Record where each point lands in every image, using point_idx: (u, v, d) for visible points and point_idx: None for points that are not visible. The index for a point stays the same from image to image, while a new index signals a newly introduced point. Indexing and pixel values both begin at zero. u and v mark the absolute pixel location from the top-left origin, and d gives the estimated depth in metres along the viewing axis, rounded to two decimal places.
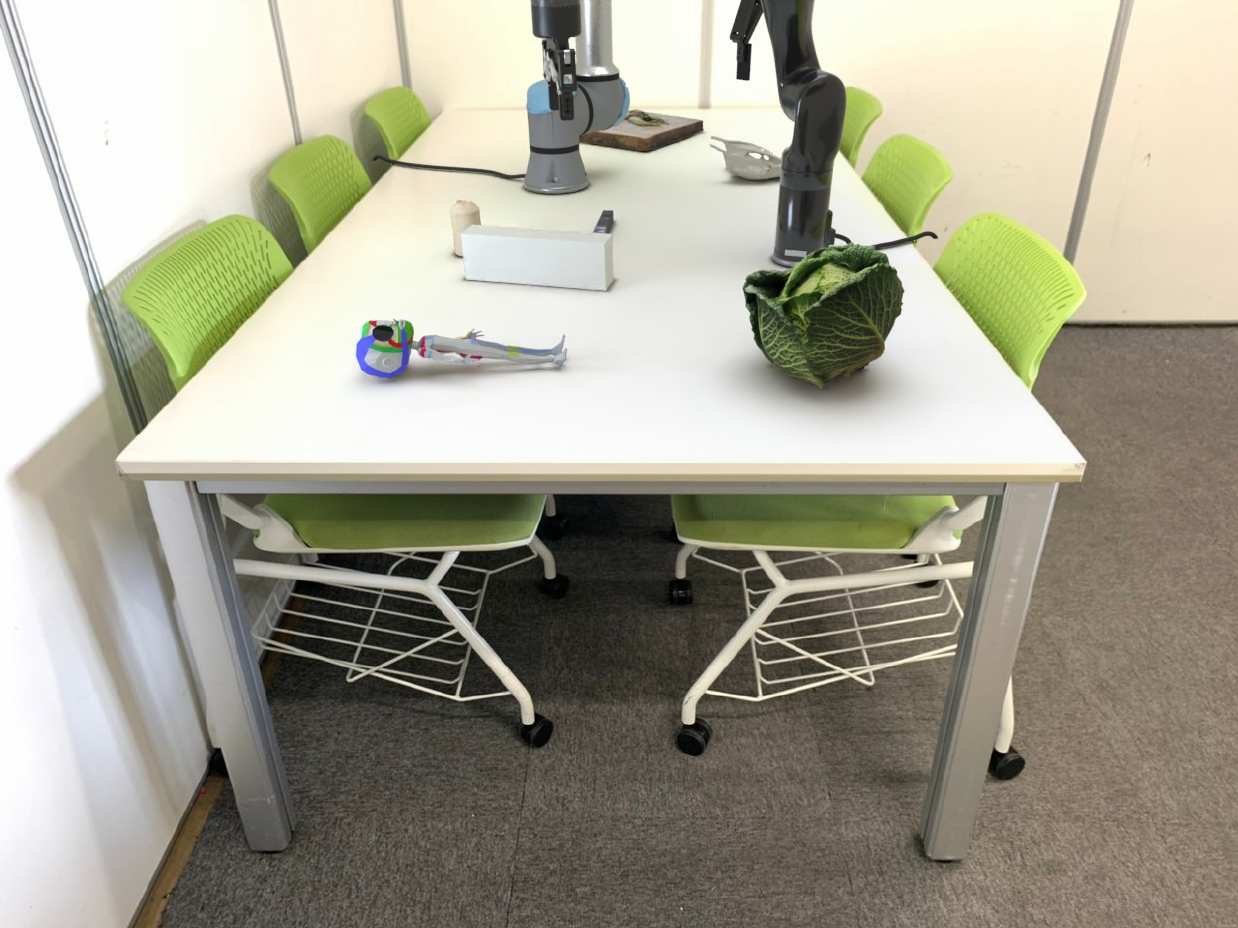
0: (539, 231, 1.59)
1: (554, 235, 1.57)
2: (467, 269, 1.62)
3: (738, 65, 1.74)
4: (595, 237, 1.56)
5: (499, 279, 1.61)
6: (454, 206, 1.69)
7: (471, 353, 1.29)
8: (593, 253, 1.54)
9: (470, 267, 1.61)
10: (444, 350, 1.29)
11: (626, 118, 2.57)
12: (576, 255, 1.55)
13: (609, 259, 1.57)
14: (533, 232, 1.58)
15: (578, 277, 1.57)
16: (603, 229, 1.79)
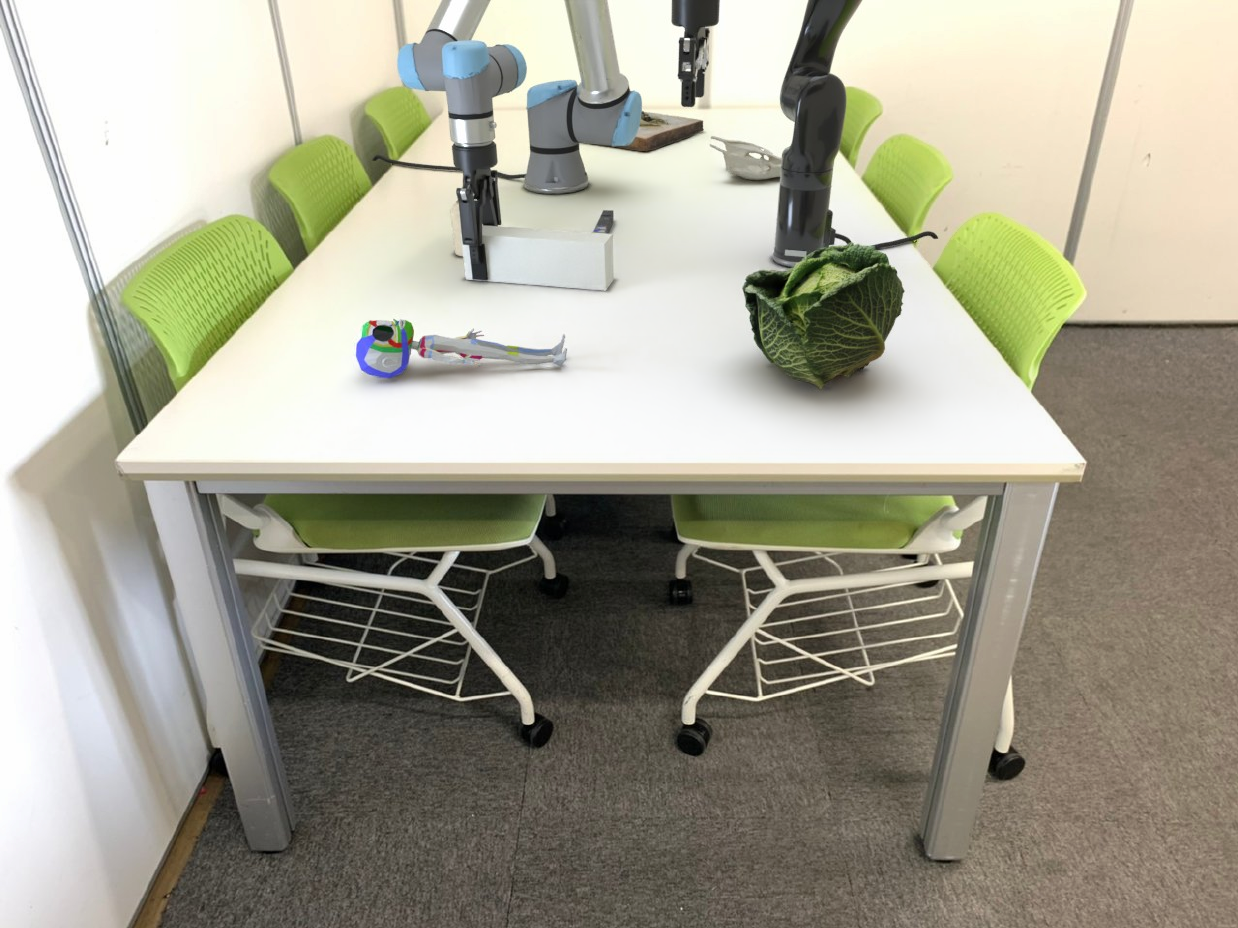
0: (539, 231, 1.59)
1: (554, 235, 1.57)
2: (467, 269, 1.62)
3: (473, 265, 1.60)
4: (595, 237, 1.56)
5: (499, 279, 1.61)
6: (454, 206, 1.69)
7: (471, 353, 1.29)
8: (593, 253, 1.54)
9: (470, 267, 1.61)
10: (444, 350, 1.29)
11: None
12: (576, 255, 1.55)
13: (609, 259, 1.57)
14: (533, 232, 1.58)
15: (578, 277, 1.57)
16: (603, 229, 1.79)
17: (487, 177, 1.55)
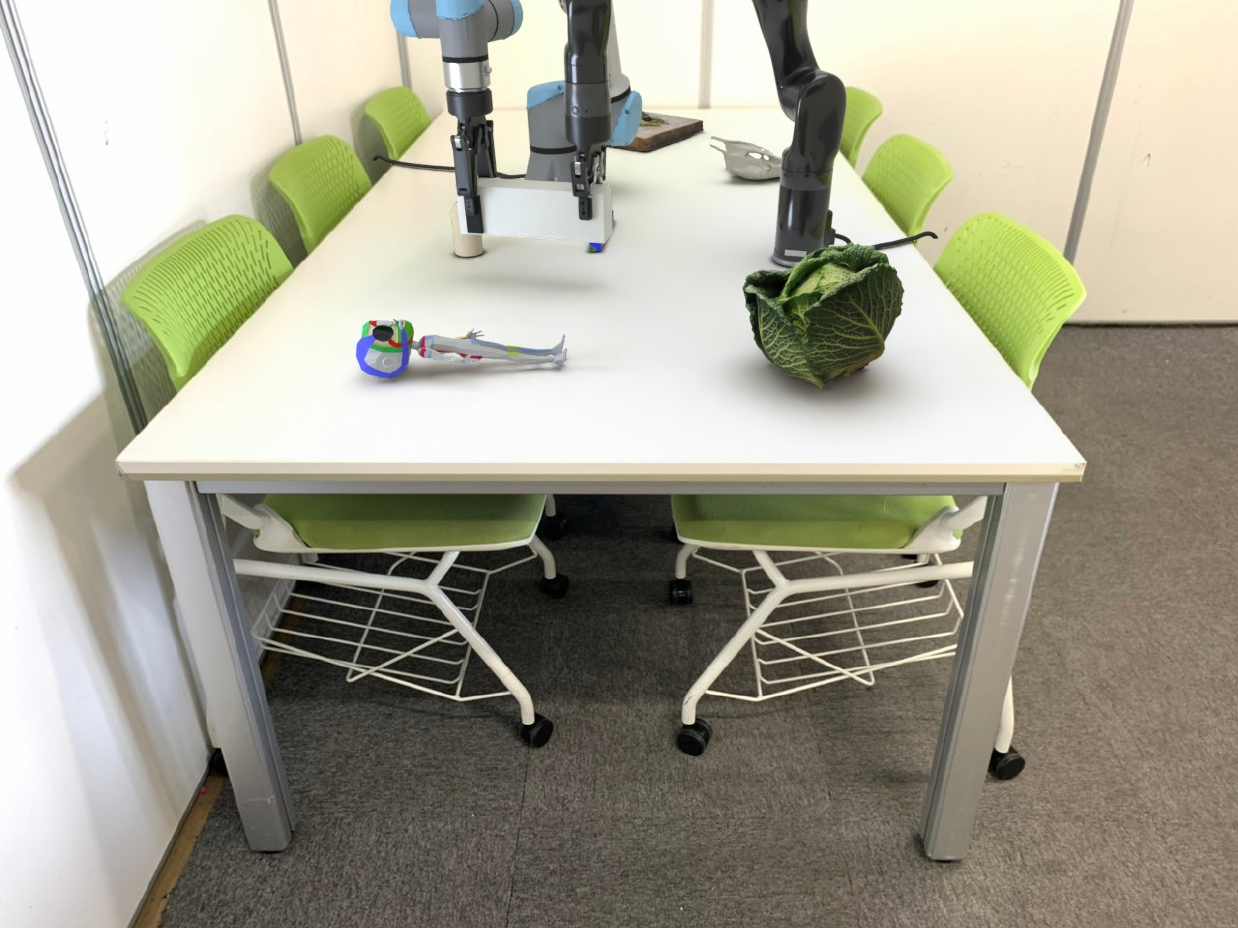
0: (536, 182, 1.54)
1: (552, 186, 1.52)
2: (462, 222, 1.57)
3: (468, 218, 1.56)
4: (593, 188, 1.51)
5: (495, 232, 1.57)
6: (454, 206, 1.69)
7: (471, 353, 1.29)
8: None
9: (465, 220, 1.57)
10: (444, 350, 1.29)
11: None
12: (574, 206, 1.51)
13: (608, 211, 1.53)
14: (529, 183, 1.54)
15: (576, 229, 1.53)
16: None
17: (482, 126, 1.51)
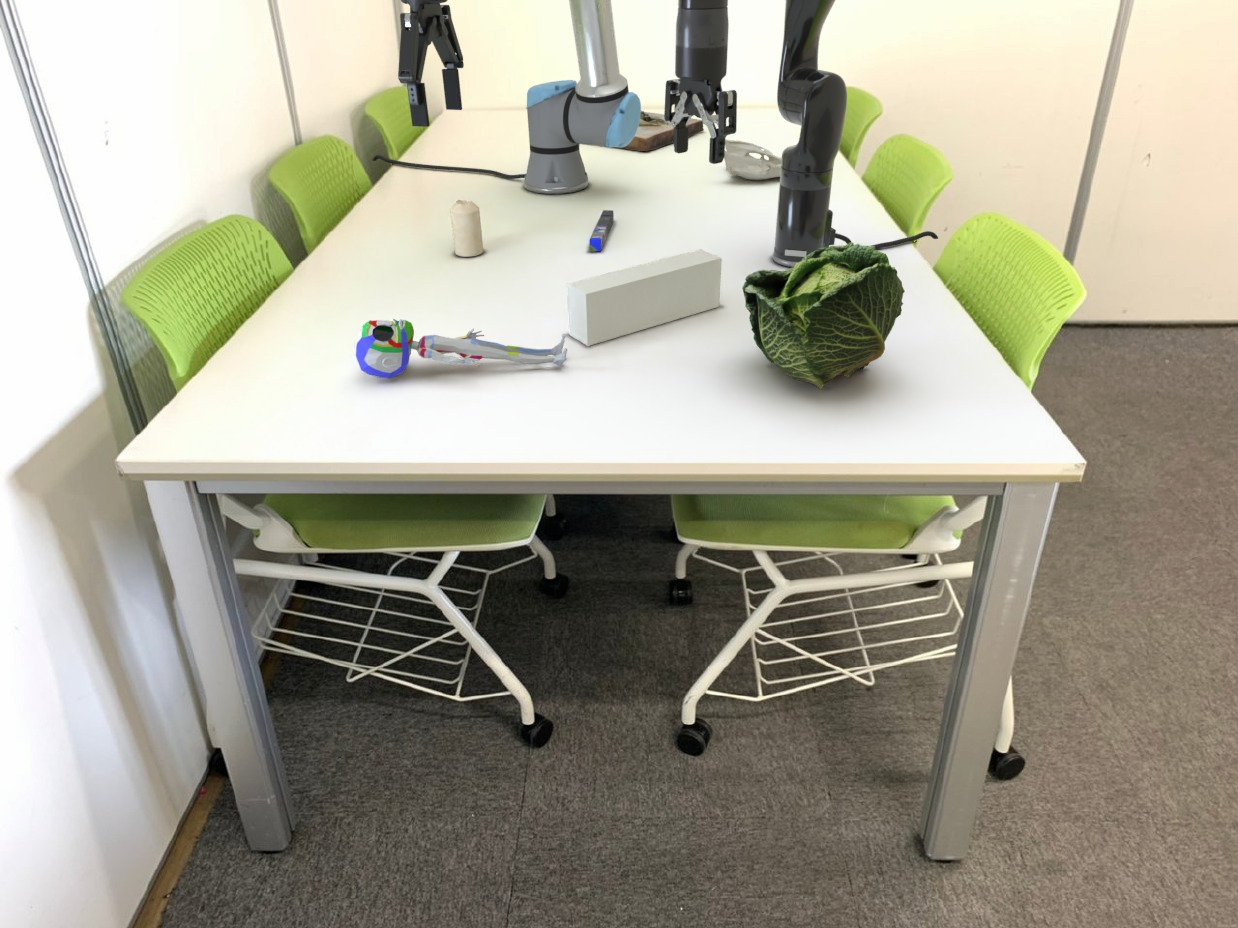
0: (642, 267, 1.43)
1: (664, 265, 1.43)
2: (590, 333, 1.37)
3: (412, 109, 1.44)
4: (699, 256, 1.47)
5: (623, 332, 1.41)
6: (454, 206, 1.69)
7: (471, 353, 1.29)
8: (711, 271, 1.46)
9: (593, 330, 1.37)
10: (444, 350, 1.29)
11: None
12: (696, 279, 1.45)
13: None
14: (640, 270, 1.42)
15: (697, 301, 1.47)
16: (603, 229, 1.79)
17: (437, 18, 1.43)
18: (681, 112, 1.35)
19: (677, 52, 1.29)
